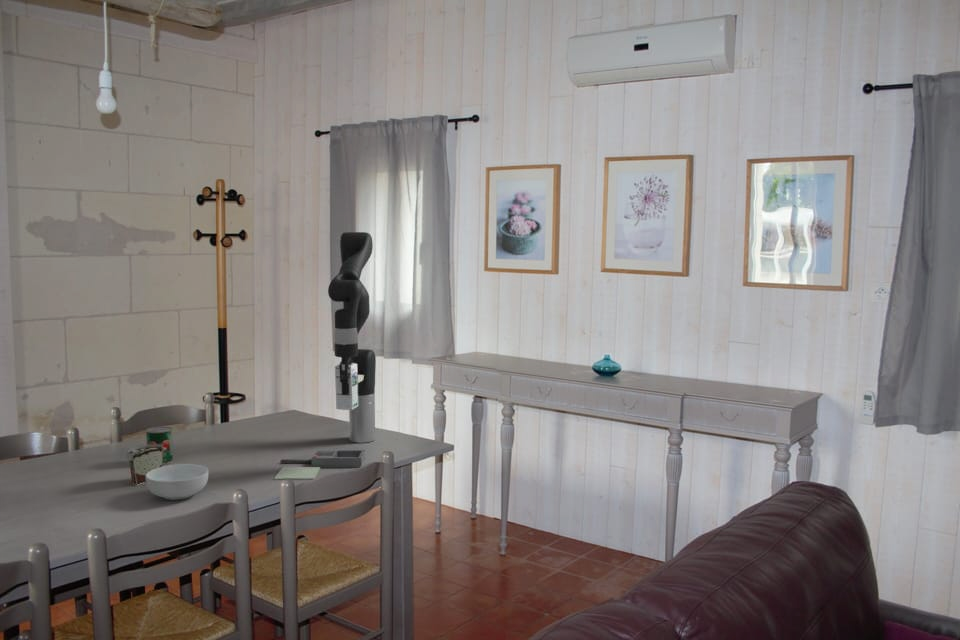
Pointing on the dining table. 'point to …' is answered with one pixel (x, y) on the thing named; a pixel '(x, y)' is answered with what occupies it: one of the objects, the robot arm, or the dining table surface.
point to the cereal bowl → (177, 480)
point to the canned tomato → (161, 440)
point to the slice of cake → (144, 461)
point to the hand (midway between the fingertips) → (346, 392)
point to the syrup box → (352, 398)
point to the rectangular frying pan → (333, 458)
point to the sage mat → (297, 472)
